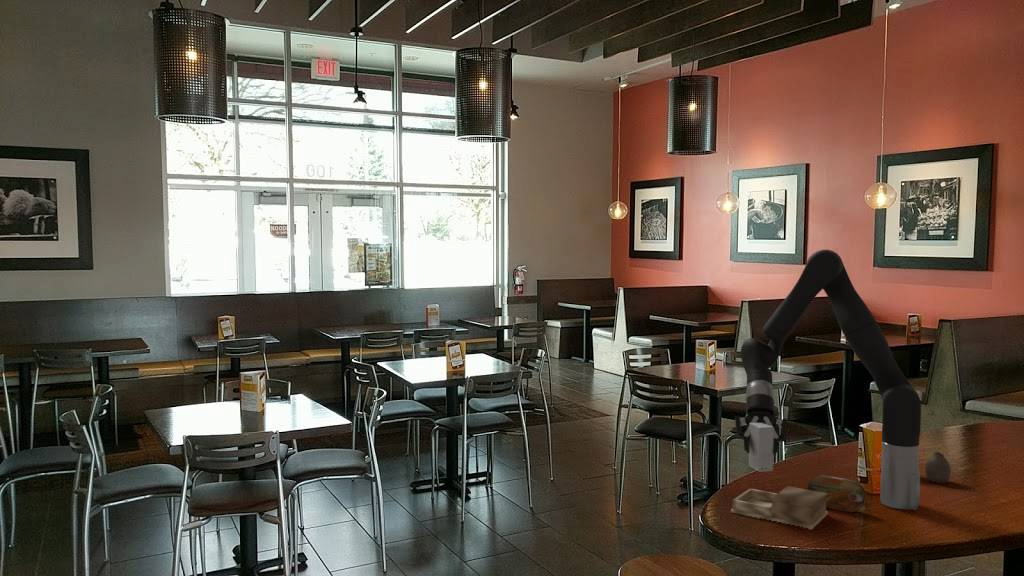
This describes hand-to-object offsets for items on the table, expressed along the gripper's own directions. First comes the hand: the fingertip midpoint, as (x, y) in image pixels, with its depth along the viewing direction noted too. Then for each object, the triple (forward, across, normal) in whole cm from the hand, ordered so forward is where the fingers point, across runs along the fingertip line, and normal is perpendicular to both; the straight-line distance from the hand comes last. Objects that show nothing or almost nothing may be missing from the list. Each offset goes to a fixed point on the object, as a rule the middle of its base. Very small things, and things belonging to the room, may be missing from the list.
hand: (761, 452), depth 204 cm
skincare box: (+2, 0, +5) cm, 5 cm away
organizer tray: (+12, +5, +11) cm, 17 cm away
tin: (+6, +20, +18) cm, 27 cm away
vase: (-18, +53, +41) cm, 69 cm away
